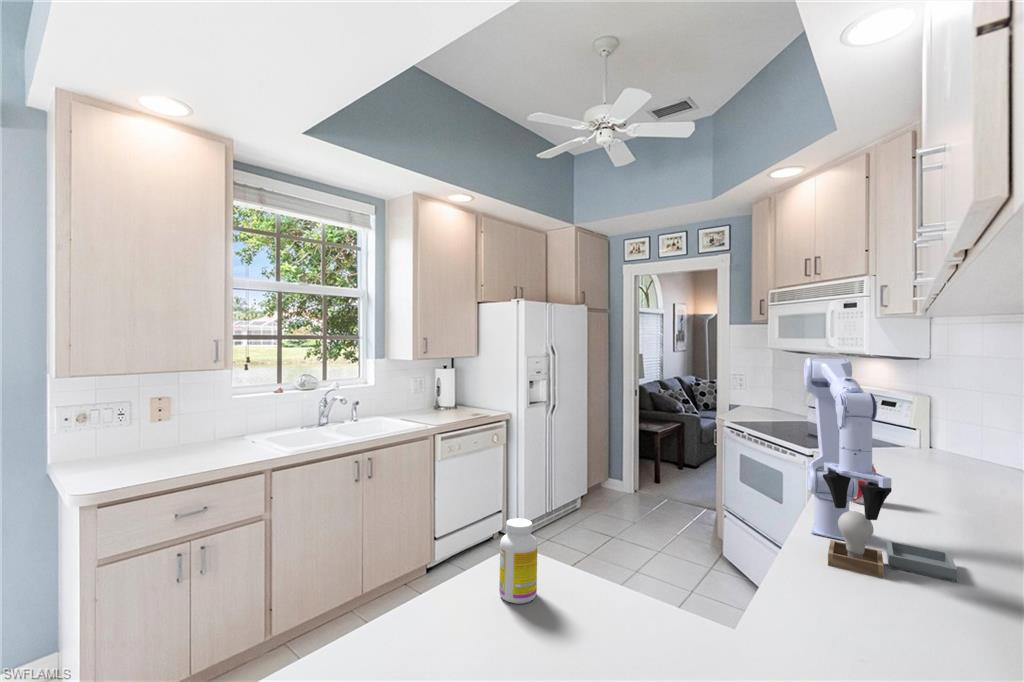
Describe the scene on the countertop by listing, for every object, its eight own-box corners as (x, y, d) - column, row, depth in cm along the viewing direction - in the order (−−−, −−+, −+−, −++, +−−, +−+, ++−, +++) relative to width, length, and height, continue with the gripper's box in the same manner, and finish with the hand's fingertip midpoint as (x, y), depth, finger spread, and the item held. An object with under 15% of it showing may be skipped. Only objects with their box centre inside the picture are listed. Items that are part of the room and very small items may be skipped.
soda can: (841, 499, 149) (842, 460, 149) (861, 498, 150) (861, 460, 150) (862, 506, 142) (862, 465, 142) (882, 505, 143) (882, 465, 143)
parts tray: (886, 551, 109) (886, 540, 109) (949, 564, 102) (949, 552, 103) (888, 567, 100) (888, 555, 100) (957, 582, 94) (957, 569, 94)
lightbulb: (839, 566, 100) (840, 513, 100) (835, 555, 106) (836, 505, 106) (875, 573, 97) (876, 518, 98) (870, 561, 103) (870, 510, 103)
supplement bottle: (543, 593, 86) (545, 521, 86) (523, 609, 80) (525, 532, 80) (512, 582, 89) (514, 513, 90) (491, 597, 84) (493, 523, 84)
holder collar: (830, 551, 108) (830, 540, 108) (881, 562, 102) (881, 550, 102) (827, 565, 100) (827, 553, 100) (883, 578, 95) (883, 565, 95)
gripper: (812, 442, 108) (811, 503, 108) (869, 456, 94) (869, 525, 94) (839, 443, 110) (839, 502, 109) (900, 455, 95) (900, 524, 95)
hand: (855, 513), depth 101 cm, fingers open, 7 cm apart
